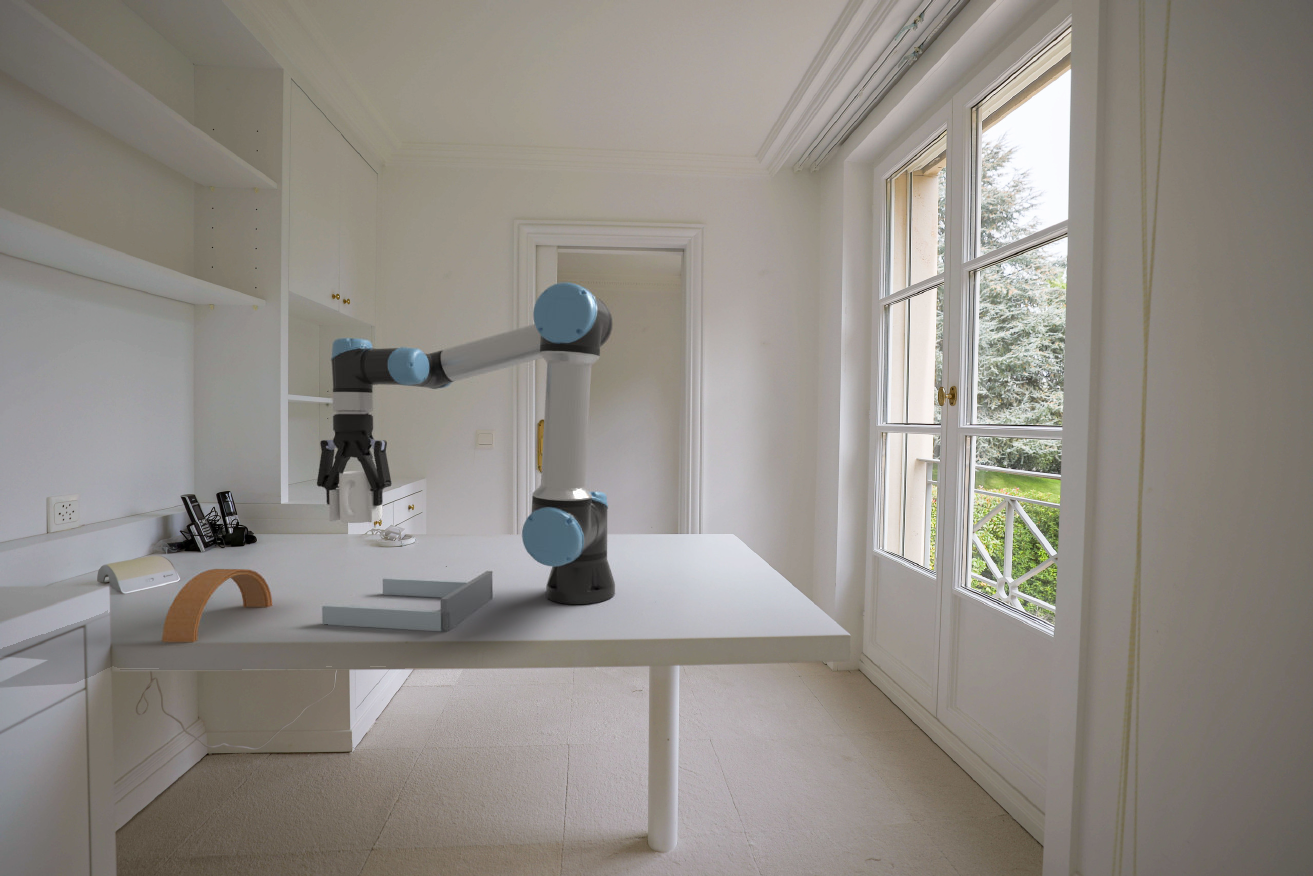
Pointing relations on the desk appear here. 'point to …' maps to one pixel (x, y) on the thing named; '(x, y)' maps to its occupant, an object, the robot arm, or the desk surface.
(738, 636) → the desk surface
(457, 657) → the desk surface
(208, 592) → the arch
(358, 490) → the mug
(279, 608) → the desk surface
